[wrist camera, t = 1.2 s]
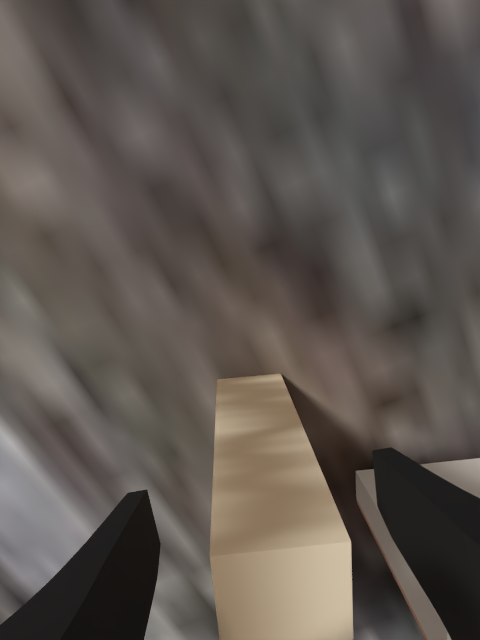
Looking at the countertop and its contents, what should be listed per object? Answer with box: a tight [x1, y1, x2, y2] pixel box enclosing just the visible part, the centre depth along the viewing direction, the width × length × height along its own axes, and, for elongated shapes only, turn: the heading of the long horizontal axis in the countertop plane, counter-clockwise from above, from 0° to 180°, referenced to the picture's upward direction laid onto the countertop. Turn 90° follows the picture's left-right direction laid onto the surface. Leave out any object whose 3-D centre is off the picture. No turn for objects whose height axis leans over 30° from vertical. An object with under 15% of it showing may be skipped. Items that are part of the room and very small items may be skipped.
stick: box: [210, 374, 353, 640], centre depth 13 cm, size 3×3×10 cm
